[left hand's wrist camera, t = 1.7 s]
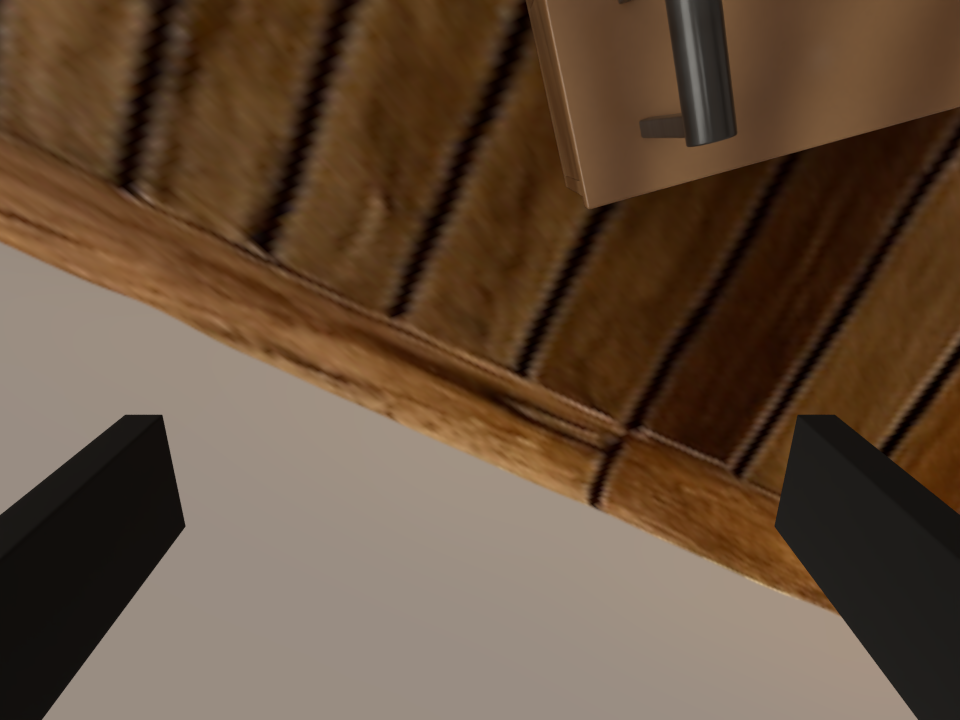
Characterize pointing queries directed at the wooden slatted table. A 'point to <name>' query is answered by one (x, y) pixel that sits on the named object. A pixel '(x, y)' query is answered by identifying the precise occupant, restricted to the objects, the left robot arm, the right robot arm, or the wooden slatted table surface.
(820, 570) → the left robot arm
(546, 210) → the wooden slatted table surface
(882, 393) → the wooden slatted table surface
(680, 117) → the lid
